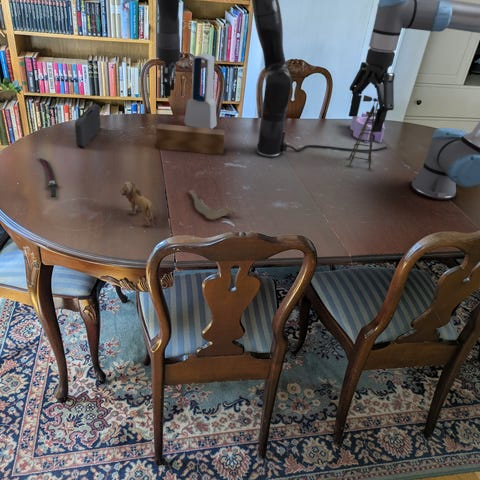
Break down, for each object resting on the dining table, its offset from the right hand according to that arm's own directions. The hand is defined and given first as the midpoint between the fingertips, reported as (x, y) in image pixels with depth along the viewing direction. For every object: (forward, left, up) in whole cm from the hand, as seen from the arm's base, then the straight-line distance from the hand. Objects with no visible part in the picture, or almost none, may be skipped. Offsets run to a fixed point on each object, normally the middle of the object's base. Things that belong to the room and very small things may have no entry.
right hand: (364, 123), depth 142 cm
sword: (+91, -36, -27) cm, 102 cm away
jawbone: (+45, -7, -27) cm, 53 cm away
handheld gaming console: (+74, -69, -27) cm, 105 cm away
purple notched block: (-46, -56, -27) cm, 78 cm away
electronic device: (+28, -74, -27) cm, 83 cm away
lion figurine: (+68, -5, -27) cm, 73 cm away
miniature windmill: (-24, -27, -27) cm, 45 cm away
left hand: (+46, -55, -6) cm, 72 cm away
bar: (+38, -52, -27) cm, 70 cm away
